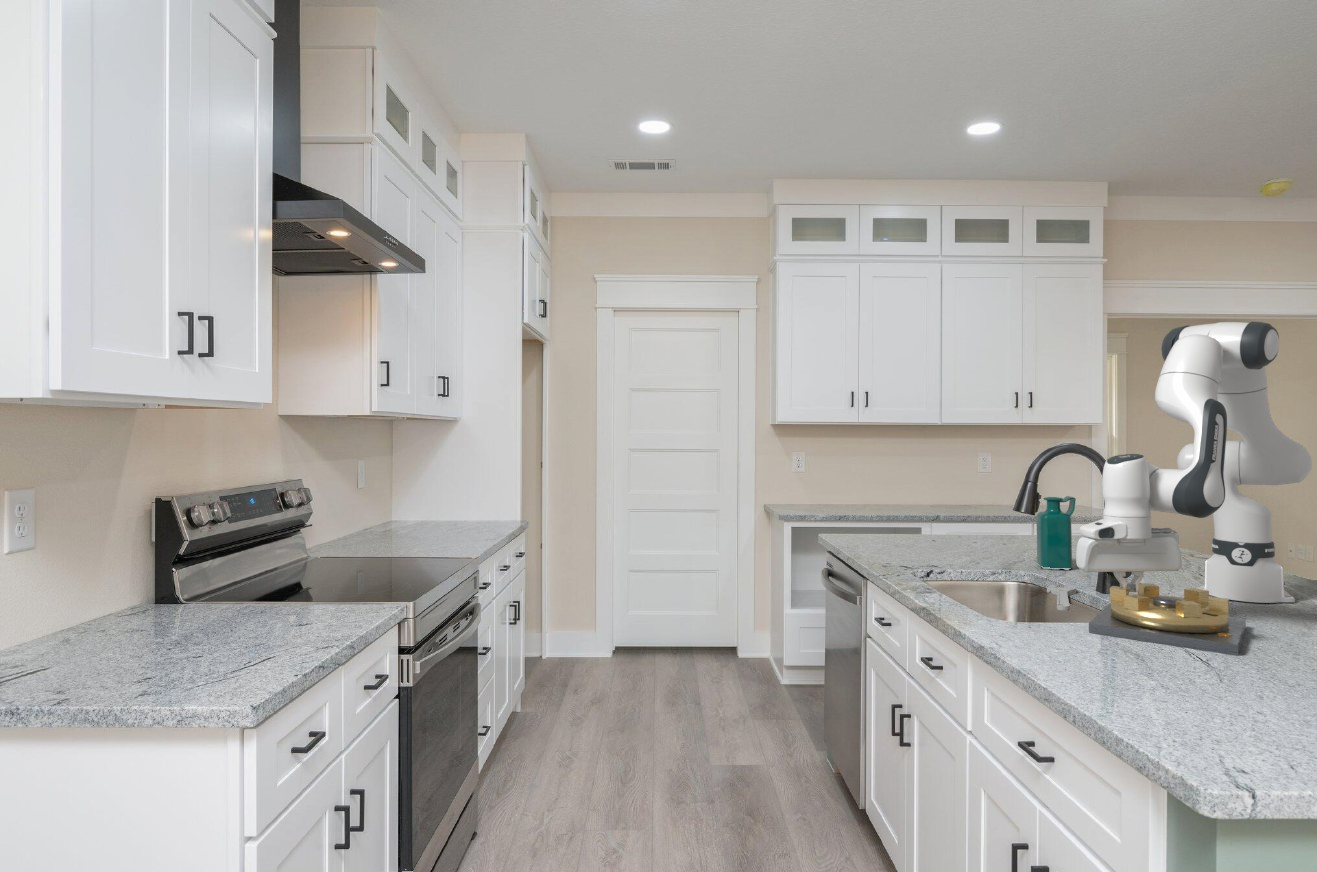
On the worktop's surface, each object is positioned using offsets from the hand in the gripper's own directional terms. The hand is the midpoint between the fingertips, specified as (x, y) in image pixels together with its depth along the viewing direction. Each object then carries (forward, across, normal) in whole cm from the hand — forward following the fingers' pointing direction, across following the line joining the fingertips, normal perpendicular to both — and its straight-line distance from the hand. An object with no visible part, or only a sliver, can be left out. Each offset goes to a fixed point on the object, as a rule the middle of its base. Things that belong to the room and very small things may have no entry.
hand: (1129, 591), depth 154 cm
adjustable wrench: (+7, +5, -22) cm, 24 cm away
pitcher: (+8, -12, -64) cm, 65 cm away
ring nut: (+4, -4, +7) cm, 9 cm away
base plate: (+7, -4, +7) cm, 10 cm away
